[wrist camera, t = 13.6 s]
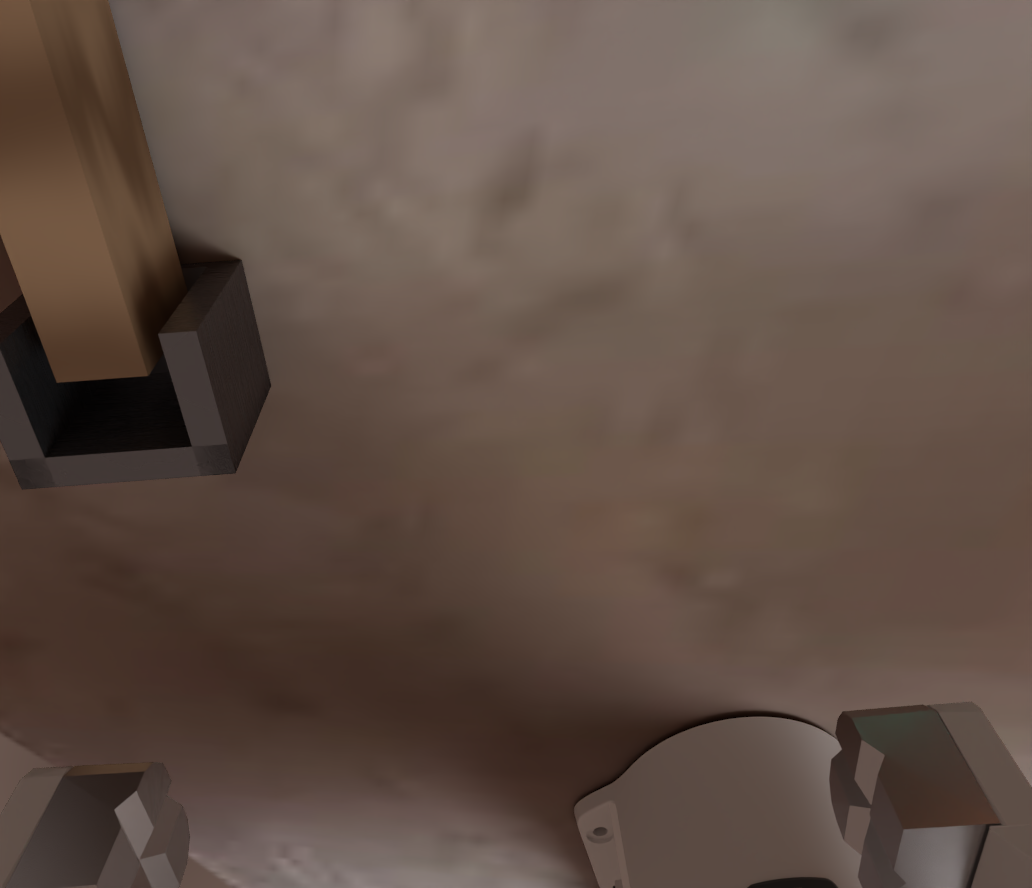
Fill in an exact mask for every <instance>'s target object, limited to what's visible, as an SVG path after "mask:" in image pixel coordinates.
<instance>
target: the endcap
mask: <svg viewBox="0 0 1032 888" xmlns="http://www.w3.org/2000/svg"><path fill="white" fill-rule="evenodd" d="M180 265H181V269H182V273H183V276H184V280H185V284H186V287H187V291H188V293H187V295H186V296H185V297H184V299H183V300H182V301H181V303H180V304H179V306H178V307H177V308H176V310H175V311H174V312H173V314H172V315H171V317H170V318H169V319H168V321H167V322H166V324H165V325H164V326H163V328H162V329H161V330H160V332H159V333H158V336H159V339H160V342H161V345H162V349H163V352H164V353H163V355H162V356H161V358H160V359H159V361H158V362H157V364H156V365H155V367H154V368H153V370H152V371H151V373H150V374H149V375H148V376H141V377H128V378H114V379H101V380H87V381H73V382H60V383H57V382H56V379H55V377H54V374H53V371H52V369H51V366H50V363H49V361H48V358H47V356H46V353H45V350H44V348H43V345H42V342H41V340H40V337H39V335H38V332H37V329H36V327H35V324H34V321H33V319H32V316H31V314H30V311H29V308H28V306H27V303H26V300H25V298H24V295H23V294H22V295H21V296H20V297H19V298H18V299H16V300H15V301H14V302H13V303H12V304H11V305H10V306H8V307H7V308H6V309H5V310H4V311H3V312H1V313H0V441H1V443H2V445H3V448H4V450H5V452H6V454H7V457H8V459H9V461H10V463H11V466H12V468H13V470H14V473H15V475H16V477H17V479H18V482H19V484H20V486H21V489H35V488H48V487H61V486H74V485H88V484H101V483H114V482H127V481H141V480H154V479H167V478H180V477H193V476H207V475H220V474H233V473H236V471H237V468H238V466H239V463H240V461H241V458H242V456H243V454H244V451H245V449H246V446H247V444H248V441H249V439H250V436H251V434H252V431H253V429H254V427H255V424H256V422H257V419H258V417H259V414H260V412H261V409H262V407H263V405H264V402H265V400H266V397H267V395H268V392H269V390H270V387H271V383H270V379H269V375H268V371H267V366H266V362H265V358H264V353H263V349H262V345H261V341H260V336H259V332H258V328H257V324H256V319H255V315H254V311H253V307H252V302H251V298H250V294H249V290H248V285H247V281H246V277H245V272H244V268H243V264H242V260H235V261H221V262H207V263H193V264H180Z"/></svg>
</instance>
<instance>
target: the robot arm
mask: <svg viewBox="0 0 1032 888" xmlns="http://www.w3.org/2000/svg"><path fill="white" fill-rule="evenodd" d="M835 734H836V737H837V739H838V740H836V739H835V738H834V737H832V736H831V735H829V734H828V733H826V732H824V731H823V730H821V729H819V728H816V727H814V726H812V725H809V724H806V723H802V722H799V721H795V720H790V719H784V718H775V717H741V718H733V719H726V720H721V721H716V722H711V723H707V724H704V725H700V726H697V727H694V728H691V729H689V730H686V731H683V732H681V733H679V734H676V735H674V736H672V737H670V738H668V739H666V740H665V741H663V742H661V743H659V744H658V745H656V746H654V747H653V748H652V749H650V750H649V751H647V752H646V753H645V754H643V755H642V756H641V757H640V758H639V759H638V760H636V761H635V762H634V763H633V764H632V765H631V766H630V767H629V768H628V770H627V771H626V772H625V773H624V774H623V775H622V776H621V777H619V778H618V779H617V780H616V781H614V782H613V783H612V784H609V785H607V786H605V787H603V788H601V789H599V790H597V791H595V792H593V793H591V794H589V795H588V796H586V797H584V798H583V799H581V800H580V801H579V802H578V803H577V804H576V805H575V807H574V814H575V818H576V822H577V826H578V829H579V832H580V835H581V838H582V840H583V843H584V846H585V849H586V851H587V854H588V857H589V860H590V862H591V865H592V868H593V871H594V874H595V876H596V879H597V882H598V885H599V887H600V888H1032V787H1031V785H1030V784H1029V782H1028V781H1027V779H1026V778H1025V776H1024V775H1023V773H1022V771H1021V770H1020V768H1019V767H1018V765H1017V764H1016V762H1015V761H1014V759H1013V757H1012V756H1011V754H1010V753H1009V751H1008V750H1007V748H1006V747H1005V745H1004V743H1003V742H1002V740H1001V739H1000V737H999V736H998V734H997V733H996V731H995V730H994V728H993V726H992V725H991V723H990V722H989V720H988V719H987V717H986V716H985V714H984V712H983V711H982V709H981V708H980V707H978V706H977V705H976V704H974V703H973V702H961V703H947V704H934V705H927V706H925V705H913V706H901V707H889V708H877V709H866V710H854V711H843V712H842V713H841V715H840V716H839V718H838V720H837V726H836V732H835ZM171 781H172V780H171V778H170V776H169V774H168V772H167V770H166V768H165V766H164V764H163V763H157V762H150V763H127V764H105V765H83V766H69V767H51V768H34V769H32V770H31V771H30V772H29V773H28V774H27V775H25V776H24V777H23V778H22V779H21V780H20V781H19V783H18V785H17V787H16V788H15V790H14V792H13V794H12V795H11V797H10V799H9V801H8V803H7V804H6V806H5V808H4V809H3V811H2V813H1V815H0V888H179V887H180V884H181V881H182V878H183V875H184V871H185V868H186V865H187V860H188V851H189V841H190V834H189V827H188V819H187V816H186V814H185V811H184V809H183V806H182V805H181V804H179V803H178V802H176V801H175V800H173V799H172V798H170V797H169V796H167V792H168V789H169V787H170V784H171Z"/></svg>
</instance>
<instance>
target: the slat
mask: <svg viewBox="0 0 1032 888" xmlns="http://www.w3.org/2000/svg"><path fill="white" fill-rule="evenodd" d="M0 235H1V238H2V240H3V243H4V245H5V248H6V251H7V253H8V256H9V258H10V261H11V264H12V266H13V269H14V272H15V274H16V277H17V279H18V282H19V285H20V287H21V290H22V293H23V295H24V298H25V300H26V303H27V306H28V308H29V311H30V314H31V316H32V319H33V321H34V324H35V327H36V329H37V332H38V335H39V337H40V340H41V342H42V345H43V348H44V350H45V353H46V356H47V358H48V361H49V363H50V366H51V369H52V371H53V374H54V377H55V379H56V382H57V383H60V382H73V381H87V380H101V379H114V378H128V377H141V376H148V375H149V374H150V373H151V371H152V370H153V368H154V367H155V365H156V364H157V362H158V361H159V359H160V358H161V356H162V355H163V353H164V352H163V349H162V345H161V342H160V339H159V336H158V333H159V332H160V330H161V329H162V328H163V326H164V325H165V324H166V322H167V321H168V319H169V318H170V317H171V315H172V314H173V312H174V311H175V310H176V308H177V307H178V306H179V304H180V303H181V301H182V300H183V299H184V297H185V296H186V295H187V293H188V291H187V287H186V284H185V280H184V276H183V273H182V269H181V265H180V262H179V258H178V254H177V251H176V247H175V243H174V240H173V236H172V232H171V229H170V225H169V221H168V218H167V214H166V210H165V207H164V203H163V199H162V196H161V192H160V188H159V185H158V181H157V178H156V174H155V170H154V167H153V163H152V159H151V156H150V152H149V148H148V145H147V141H146V137H145V134H144V130H143V126H142V123H141V119H140V115H139V112H138V108H137V104H136V101H135V97H134V93H133V90H132V86H131V83H130V79H129V75H128V72H127V68H126V64H125V61H124V57H123V53H122V50H121V46H120V42H119V39H118V35H117V31H116V28H115V24H114V20H113V17H112V13H111V9H110V6H109V2H108V0H0Z"/></svg>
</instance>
